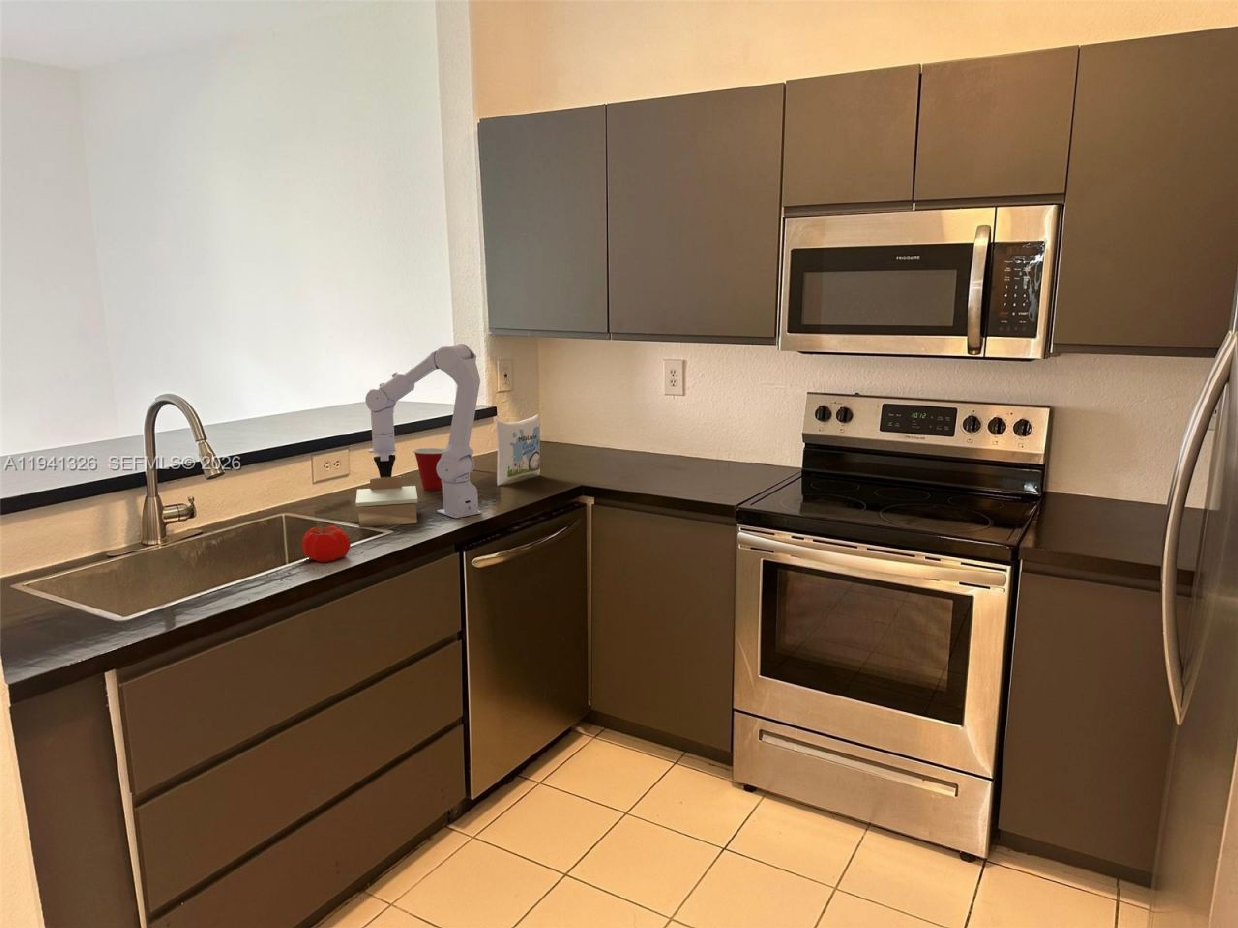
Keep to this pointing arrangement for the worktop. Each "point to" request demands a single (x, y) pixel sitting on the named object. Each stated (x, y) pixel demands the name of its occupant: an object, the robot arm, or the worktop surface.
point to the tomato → (325, 543)
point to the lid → (386, 492)
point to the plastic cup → (429, 467)
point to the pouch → (518, 448)
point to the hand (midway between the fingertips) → (386, 482)
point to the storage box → (387, 514)
